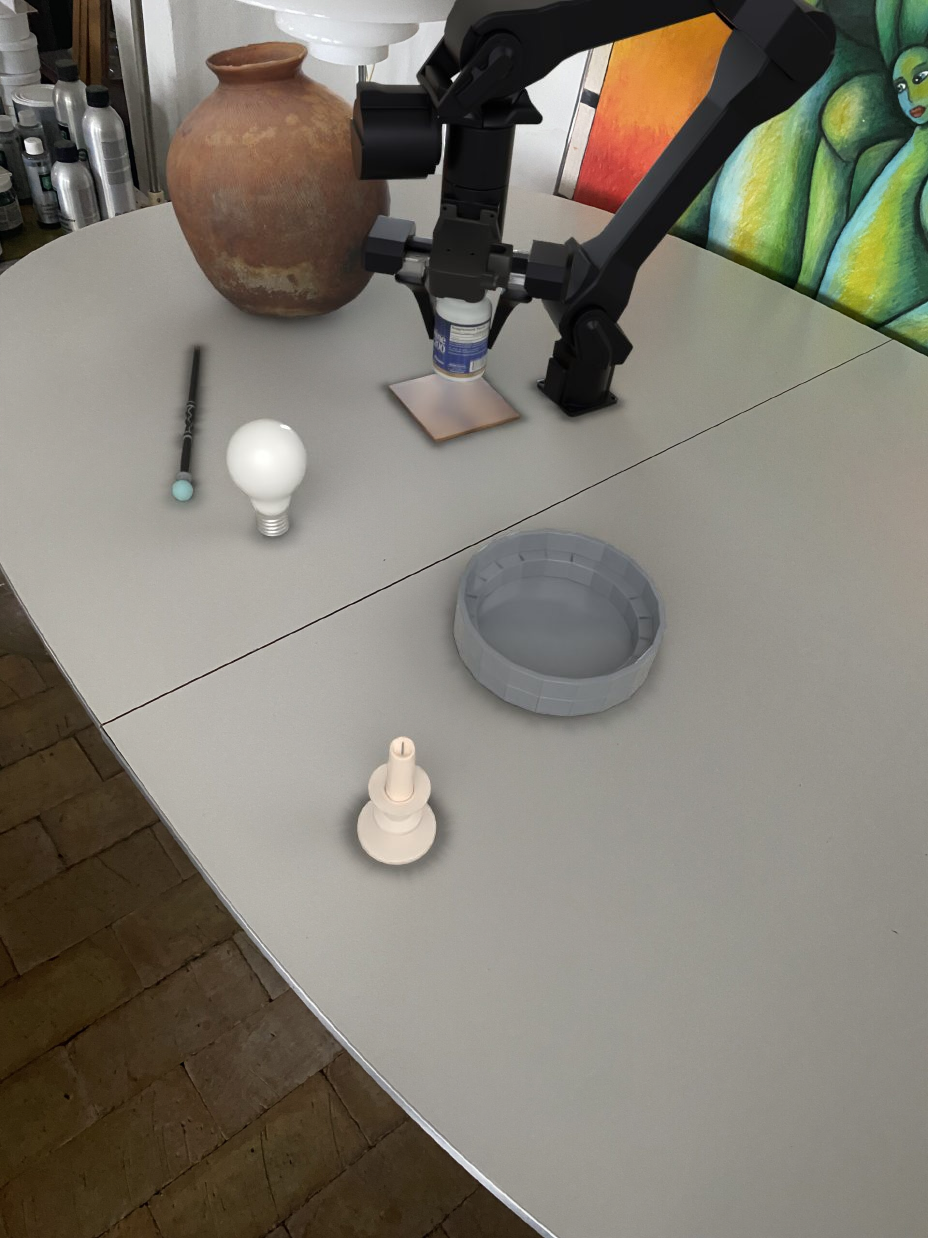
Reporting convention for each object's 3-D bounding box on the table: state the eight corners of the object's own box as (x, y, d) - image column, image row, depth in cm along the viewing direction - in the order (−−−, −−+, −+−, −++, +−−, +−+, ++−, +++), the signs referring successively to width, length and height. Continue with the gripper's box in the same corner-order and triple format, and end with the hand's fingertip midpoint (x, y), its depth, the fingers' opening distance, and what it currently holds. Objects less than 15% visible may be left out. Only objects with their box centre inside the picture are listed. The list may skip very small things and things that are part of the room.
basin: (574, 545, 78) (584, 507, 74) (691, 672, 69) (708, 635, 66) (417, 604, 71) (420, 565, 68) (525, 752, 63) (534, 716, 59)
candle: (438, 864, 56) (451, 780, 49) (357, 867, 56) (357, 782, 48) (433, 793, 60) (445, 704, 52) (357, 795, 59) (357, 705, 51)
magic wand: (200, 357, 93) (208, 344, 93) (186, 508, 77) (195, 494, 76) (185, 348, 92) (193, 336, 92) (167, 499, 76) (176, 486, 75)
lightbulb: (323, 519, 77) (319, 415, 69) (290, 565, 73) (282, 461, 65) (258, 499, 78) (246, 394, 70) (222, 543, 74) (205, 437, 66)
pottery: (396, 350, 96) (405, 99, 77) (178, 350, 92) (132, 86, 74) (380, 252, 111) (385, 21, 92) (192, 248, 107) (157, 6, 88)
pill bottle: (430, 353, 89) (435, 260, 81) (482, 355, 89) (492, 263, 82) (433, 383, 85) (439, 290, 78) (487, 385, 86) (499, 292, 79)
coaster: (469, 367, 95) (469, 364, 95) (519, 418, 90) (520, 415, 89) (388, 388, 91) (388, 385, 91) (435, 442, 86) (435, 439, 85)
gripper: (343, 198, 68) (346, 371, 80) (578, 235, 68) (547, 404, 79) (375, 145, 76) (374, 311, 88) (587, 178, 75) (557, 341, 87)
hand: (460, 342), depth 85 cm, fingers closed on pill bottle, 5 cm apart
